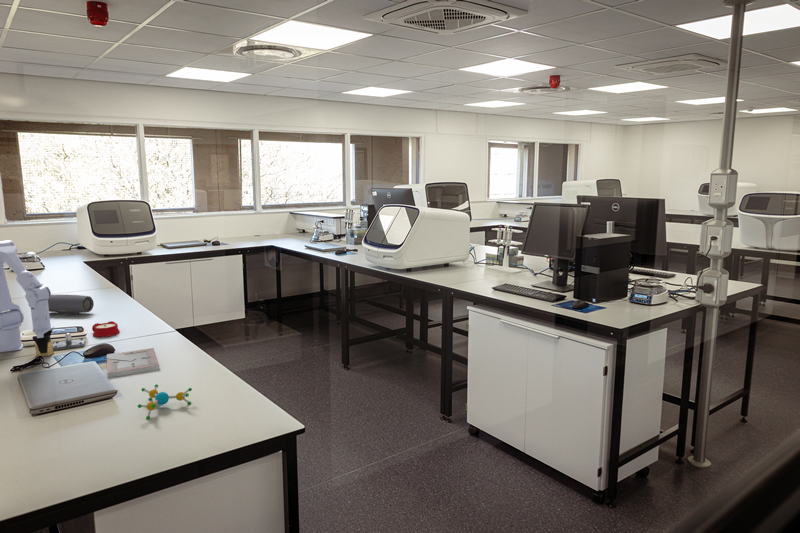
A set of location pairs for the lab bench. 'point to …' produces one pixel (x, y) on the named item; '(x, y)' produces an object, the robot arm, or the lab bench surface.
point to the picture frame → (131, 362)
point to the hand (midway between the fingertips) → (44, 350)
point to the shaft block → (69, 343)
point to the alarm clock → (105, 329)
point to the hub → (49, 351)
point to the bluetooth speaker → (70, 304)
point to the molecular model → (162, 398)
